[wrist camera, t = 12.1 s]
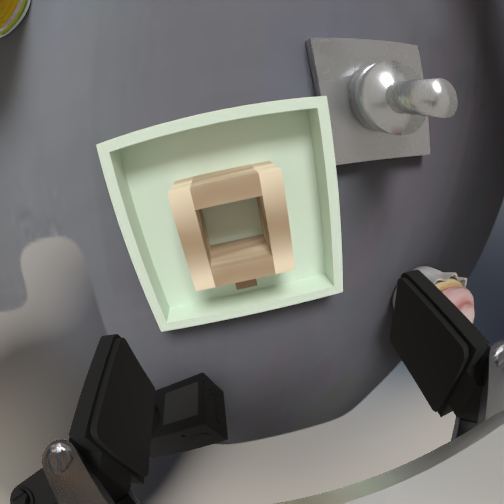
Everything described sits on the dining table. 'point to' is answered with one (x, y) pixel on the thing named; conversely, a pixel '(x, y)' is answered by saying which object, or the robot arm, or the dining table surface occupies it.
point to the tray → (228, 205)
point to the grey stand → (377, 97)
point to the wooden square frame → (242, 250)
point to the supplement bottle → (11, 14)
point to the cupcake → (450, 289)
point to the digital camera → (187, 416)
